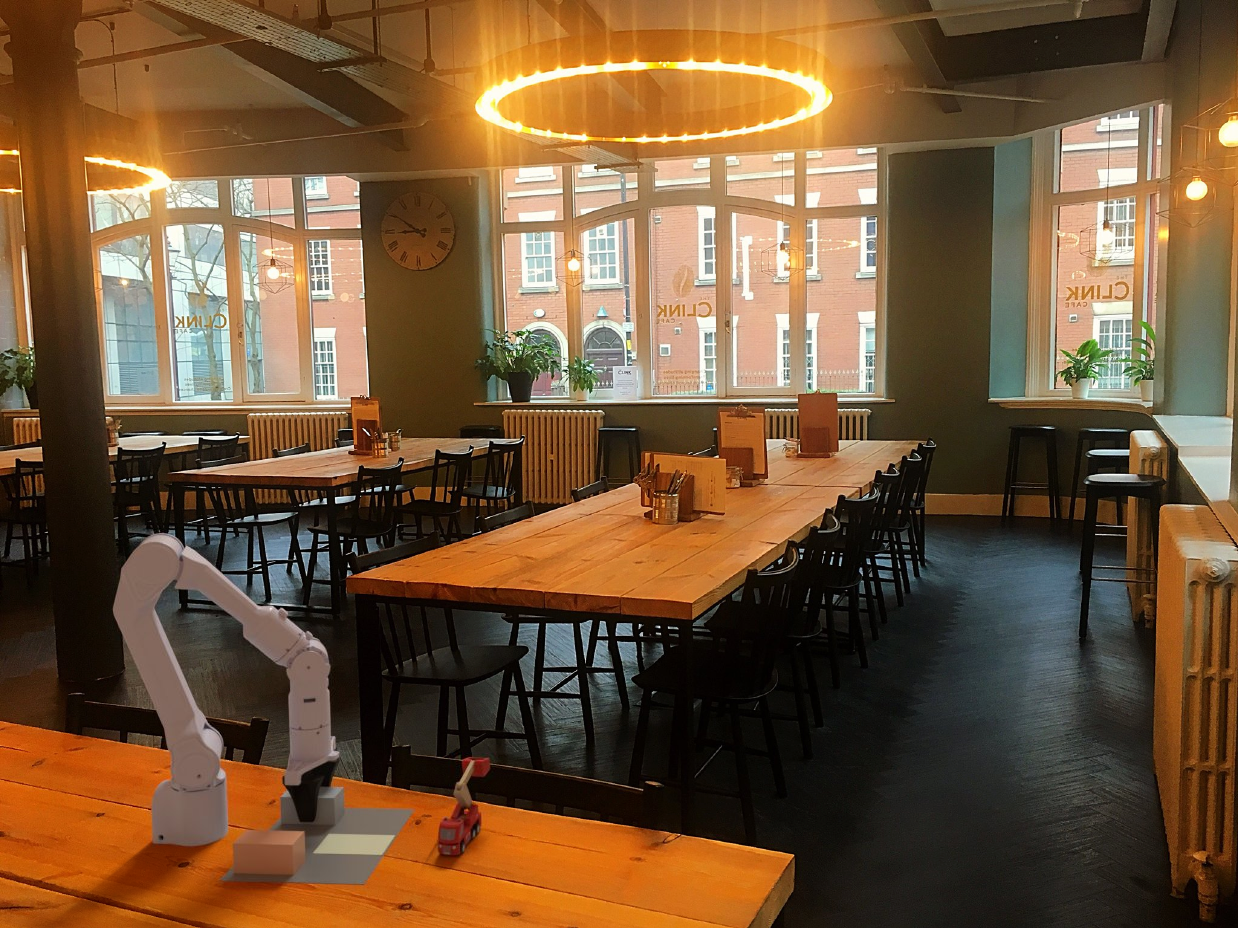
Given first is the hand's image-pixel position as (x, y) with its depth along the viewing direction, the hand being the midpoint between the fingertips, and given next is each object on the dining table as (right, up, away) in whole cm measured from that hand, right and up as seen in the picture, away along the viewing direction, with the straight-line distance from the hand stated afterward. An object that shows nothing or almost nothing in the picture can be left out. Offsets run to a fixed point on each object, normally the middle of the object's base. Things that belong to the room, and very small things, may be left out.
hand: (313, 814), depth 147 cm
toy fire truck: (+23, -2, -4) cm, 23 cm away
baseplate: (+4, -2, -8) cm, 9 cm away
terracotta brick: (-1, -2, -15) cm, 15 cm away
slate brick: (0, -1, 0) cm, 1 cm away
